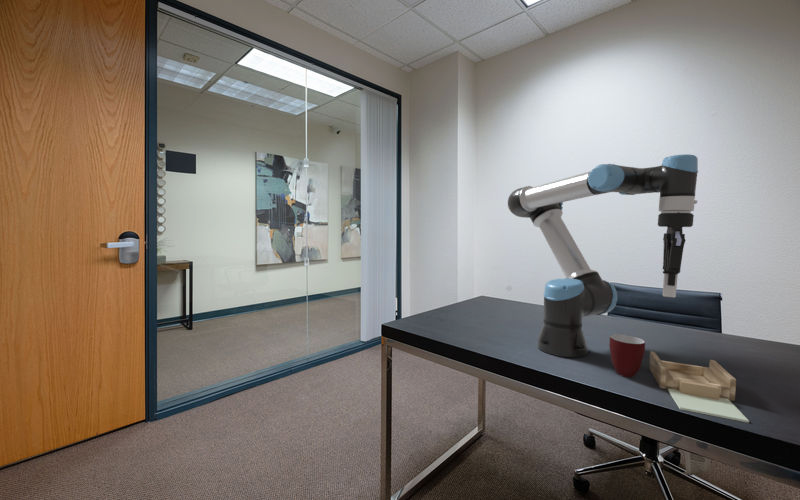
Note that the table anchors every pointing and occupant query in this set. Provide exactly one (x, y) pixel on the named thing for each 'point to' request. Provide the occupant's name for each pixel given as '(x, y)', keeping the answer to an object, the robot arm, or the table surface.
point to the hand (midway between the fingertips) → (668, 296)
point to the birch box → (692, 375)
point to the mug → (626, 354)
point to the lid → (705, 400)
